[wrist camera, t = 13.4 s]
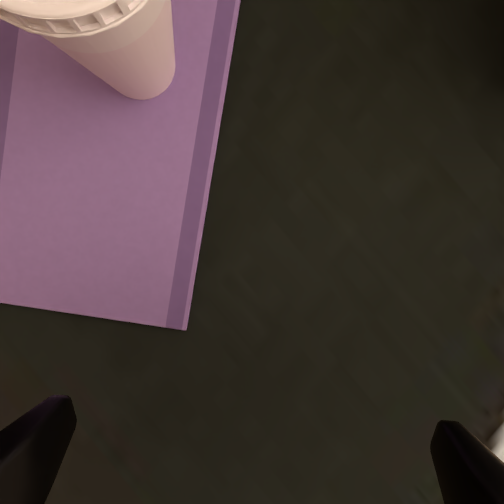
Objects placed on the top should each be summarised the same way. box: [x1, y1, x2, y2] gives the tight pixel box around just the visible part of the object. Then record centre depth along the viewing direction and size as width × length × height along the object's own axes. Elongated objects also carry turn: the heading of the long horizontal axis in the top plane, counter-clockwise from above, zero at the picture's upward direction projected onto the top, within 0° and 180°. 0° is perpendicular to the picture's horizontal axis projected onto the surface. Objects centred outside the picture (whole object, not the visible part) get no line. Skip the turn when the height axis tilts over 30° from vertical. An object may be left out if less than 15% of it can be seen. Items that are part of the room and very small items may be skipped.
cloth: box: [0, 0, 241, 330], centre depth 19 cm, size 20×12×1 cm, turn 170°
